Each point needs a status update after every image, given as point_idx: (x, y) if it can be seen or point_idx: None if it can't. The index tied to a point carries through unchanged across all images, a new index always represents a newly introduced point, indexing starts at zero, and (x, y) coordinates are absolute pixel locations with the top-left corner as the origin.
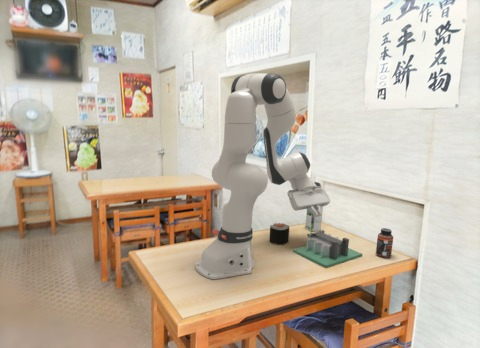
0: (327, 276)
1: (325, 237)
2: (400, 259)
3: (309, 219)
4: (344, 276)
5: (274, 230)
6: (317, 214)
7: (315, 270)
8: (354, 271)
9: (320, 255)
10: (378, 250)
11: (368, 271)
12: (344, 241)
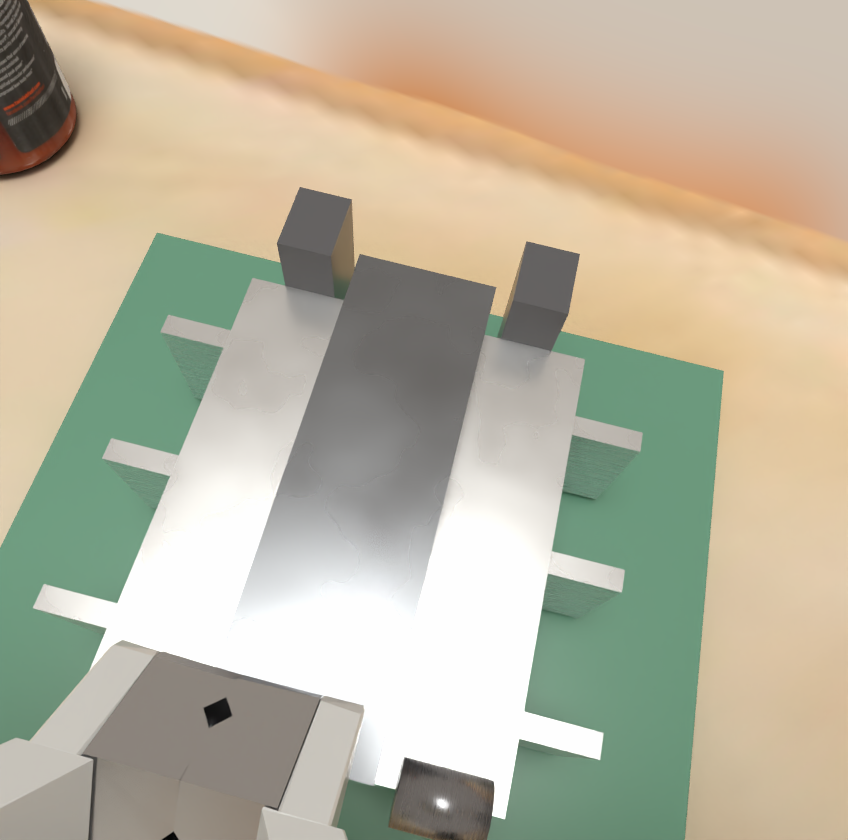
0: (831, 305)
1: (400, 501)
2: None
3: None
4: (707, 215)
5: None
6: (329, 703)
7: (835, 427)
8: (555, 193)
9: None
10: (41, 103)
11: (464, 124)
12: (344, 247)
